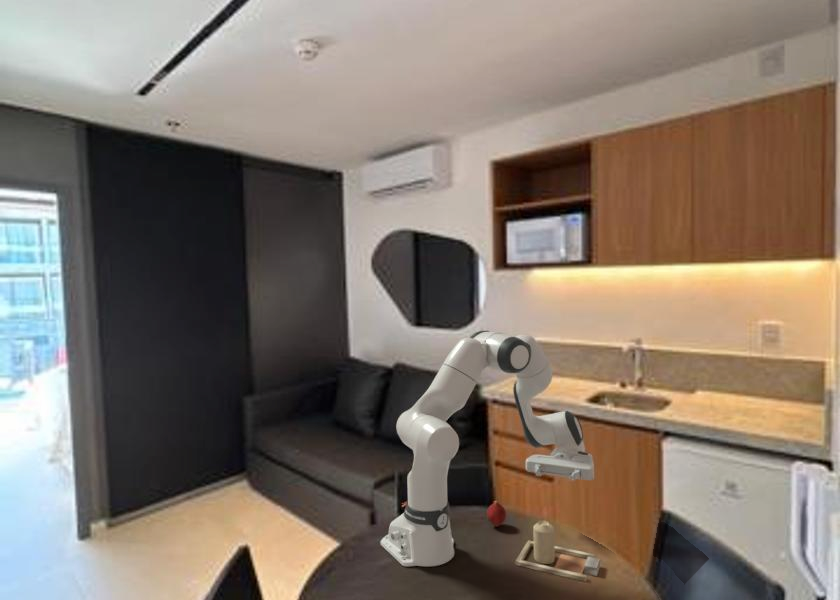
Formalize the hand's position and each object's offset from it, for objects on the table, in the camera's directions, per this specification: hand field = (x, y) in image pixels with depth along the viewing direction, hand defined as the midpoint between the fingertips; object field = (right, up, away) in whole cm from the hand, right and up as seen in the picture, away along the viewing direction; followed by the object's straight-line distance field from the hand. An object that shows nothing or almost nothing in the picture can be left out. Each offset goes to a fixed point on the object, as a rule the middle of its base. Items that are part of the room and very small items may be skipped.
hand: (553, 475), depth 148 cm
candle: (-5, -19, -10) cm, 22 cm away
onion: (-15, -19, +9) cm, 26 cm away
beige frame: (-2, -19, -12) cm, 23 cm away
